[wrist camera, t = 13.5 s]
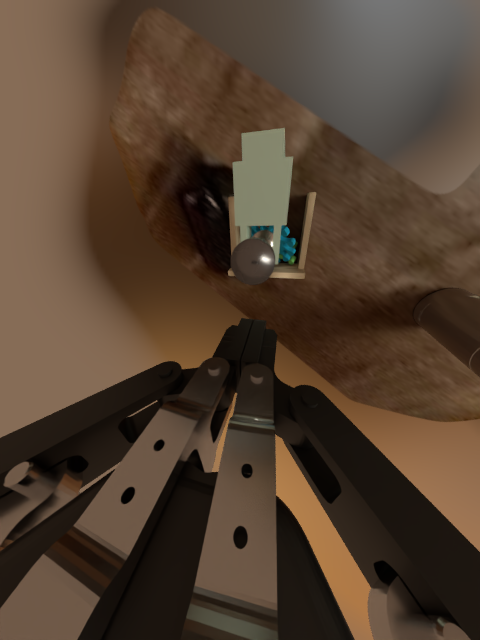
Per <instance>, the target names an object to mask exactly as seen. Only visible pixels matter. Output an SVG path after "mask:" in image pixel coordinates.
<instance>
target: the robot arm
mask: <svg viewBox="0 0 480 640" xmlns="http://www.w3.org/2000/svg"><path fill="white" fill-rule="evenodd" d="M413 317H414V320H415V321H416V322H417V323H418V324H419V325H420V326H421V327H422V328H423V329H425V330H426V331H427V332H428V333H429V334H430V335H431V336H432V337H434V338H435V339H436V340H437V341H438V342H439V343H440V344H442V345H443V346H444V347H445V348H446V349H447V350H449V351H450V352H451V353H452V354H453V355H454V356H455V357H457V358H458V359H459V360H460V361H461V362H462V363H464V364H465V365H466V366H467V367H468V368H469V369H471V370H472V371H473V372H474V373H475V374H476V375H478V376H479V377H480V297H479V296H477V295H475V294H472V293H470V292H468V291H466V290H463V289H459V288H449V289H443V290H439V291H437V292H434V293H432V294H430V295H428V296H426V297H425V298H424V299H422V300H421V301H420V302H419V303H418V305H417V306H416V307H415V310H414V313H413ZM276 342H277V335H276V333H275V331H274V330H270V329H266V321H264V320H255V319H254V320H253V319H244V318H242V319H241V321H240V323H239V325H238V326H235V325H232V326H231V327H229V328H228V329H227V330H226V332H225V334H224V336H223V338H222V340H221V341H220V343H219V345H218V347H217V349H216V351H215V353H214V355H213V357H212V358H209V359H207V360H205V361H204V362H203V363H202V364H201V365H200V367H198V368H192V369H181V366H180V364H178V363H177V362H173V361H168V362H163V363H161V364H159V365H156V366H154V367H152V368H150V369H148V370H146V371H144V372H141V373H139V374H137V375H135V376H133V377H131V378H128V379H126V380H124V381H122V382H120V383H118V384H115V385H113V386H111V387H109V388H107V389H105V390H103V391H100V392H98V393H96V394H94V395H92V396H90V397H87V398H85V399H83V400H81V401H79V402H77V403H75V404H73V405H70V406H68V407H66V408H64V409H62V410H59V411H57V412H55V413H53V414H51V415H49V416H47V417H44V418H43V419H40V420H38V421H36V422H34V423H31V424H30V425H27V426H25V427H23V428H21V429H19V430H17V431H14V432H12V433H10V434H8V435H6V436H3V437H1V438H0V640H354V637H353V635H352V633H351V631H350V629H349V627H348V625H347V622H346V620H345V618H344V616H343V614H342V612H341V610H340V607H339V606H338V603H337V601H336V599H335V597H334V595H333V593H332V591H331V588H330V586H329V584H328V582H327V580H326V578H325V576H324V573H323V571H322V569H321V567H320V565H319V563H318V560H317V558H316V556H315V554H314V552H313V550H312V548H311V545H310V544H309V541H308V539H307V537H306V535H305V533H304V531H303V530H302V527H301V526H300V524H299V522H298V521H297V519H296V518H295V516H294V515H293V513H292V512H291V511H290V509H289V508H288V507H287V506H286V505H285V503H284V502H283V501H282V500H281V499H279V497H277V496H276V465H275V464H276V458H275V457H276V456H275V434H276V435H277V436H279V437H281V438H282V439H283V441H284V443H285V445H286V447H287V449H288V450H289V452H290V454H291V455H292V457H293V459H294V460H295V462H296V464H297V465H298V467H299V468H300V470H301V472H302V474H303V475H304V477H305V478H306V480H307V482H308V484H309V485H310V487H311V488H312V490H313V492H314V493H315V495H316V496H317V498H318V500H319V502H320V503H321V505H322V507H323V508H324V510H325V512H326V513H327V515H328V517H329V518H330V520H331V522H332V523H333V525H334V527H335V528H336V530H337V532H338V533H339V535H340V537H341V538H342V540H343V542H344V543H345V545H346V547H347V548H348V550H349V552H350V553H351V555H352V556H353V558H354V560H355V562H356V563H357V565H358V567H359V568H360V570H361V571H362V573H363V575H364V576H365V578H366V580H367V582H368V583H369V585H370V587H371V590H370V593H369V597H368V616H369V622H370V627H371V631H372V634H373V638H374V640H480V552H479V551H478V550H477V549H476V548H475V547H474V546H473V545H472V544H471V543H470V542H469V541H468V540H467V539H466V538H465V537H464V536H463V535H462V534H461V533H460V532H459V531H458V530H457V528H455V526H453V524H451V522H449V521H448V519H447V518H446V517H445V516H444V515H443V514H442V513H441V512H440V511H439V510H438V509H437V508H436V507H435V506H434V505H433V504H432V503H431V502H430V501H429V500H428V499H427V498H426V497H425V496H424V495H423V494H422V493H421V492H420V491H419V490H418V489H417V488H416V487H415V486H414V485H413V484H412V483H411V482H410V481H409V480H408V479H407V478H406V477H405V476H404V475H403V474H402V473H401V472H400V471H399V470H398V469H397V468H396V467H395V466H394V465H393V464H392V463H391V462H390V461H389V460H388V459H387V458H386V457H385V455H383V453H382V452H381V451H379V449H378V448H377V447H376V446H375V445H374V444H373V443H372V442H371V441H370V440H369V439H368V438H367V437H366V436H365V435H363V433H362V432H361V431H360V430H359V429H358V428H357V427H356V426H355V425H354V424H353V423H352V422H351V421H350V420H349V419H348V418H347V417H346V416H345V415H344V414H343V413H342V412H341V411H340V410H339V409H338V408H337V407H336V406H335V405H334V404H333V403H332V402H331V401H330V400H329V399H328V398H327V397H326V396H325V395H324V394H323V393H322V392H321V391H320V390H318V389H317V388H315V387H312V386H308V385H299V386H297V387H295V388H293V387H290V386H288V385H286V384H285V383H283V382H281V381H280V380H279V379H278V378H277V376H276V375H275V372H274V363H275V353H276ZM235 393H237V397H236V402H235V407H234V413H233V416H232V417H231V418H230V420H229V424H228V428H227V433H226V438H225V442H224V447H223V452H222V457H221V462H220V466H219V471H218V472H211V471H212V468H213V464H214V461H215V456H216V450H217V446H218V443H219V440H220V437H221V435H222V432H223V429H224V427H225V424H226V421H227V419H228V416H229V413H230V411H231V408H232V401H233V397H234V394H235ZM156 400H157V401H158V402H156V403H154V404H152V405H151V406H149V407H147V408H145V409H144V410H142V411H140V412H139V413H137V414H135V415H133V416H131V417H128V416H130V415H131V414H133V413H135V412H137V411H138V410H140V409H142V408H144V407H145V406H147V405H149V404H151V403H152V402H154V401H156ZM119 462H120V464H119V465H118V466H117V468H116V469H114V470H113V471H111V472H110V473H109V474H107V475H106V476H104V477H103V478H102V479H101V480H99V481H97V482H96V483H95V484H93V485H92V486H91V487H89V488H88V489H86V490H85V491H84V492H82V493H81V494H80V492H79V490H80V489H81V488H82V487H83V486H85V485H86V484H88V483H89V482H91V481H92V480H94V479H95V478H97V477H98V476H100V475H101V474H103V473H104V472H106V471H107V470H109V469H110V468H112V467H113V466H115V465H116V464H118V463H119Z"/></svg>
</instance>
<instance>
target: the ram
mask: <svg viewBox="0 0 480 640" xmlns="http://www.w3.org/2000/svg"><path fill="white" fill-rule="evenodd" d="M274 266H275V253H274V250H273V233H272V232H271V231H269V230H261V231H258V232H257V233H256V234H254V236H253V237H252V238H248V239H245V240H243V241H242V242H241V243H239V244H238V245H237V246H236V247H235V249H234V250H233V252H232V255H231V268H232V271H233V273H234V275H235V276H236V277H237V278H238V279H239V280H240V281H241V282H243V283H246V284H249V285H257V284H260V283H263V282H264V281H266V280H267V279H268V278H269V277H270V276H271V274H272V272H273V270H274Z"/></svg>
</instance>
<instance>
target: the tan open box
mask: <svg viewBox="0 0 480 640" xmlns="http://www.w3.org/2000/svg"><path fill="white" fill-rule="evenodd" d="M315 197H316V192H314V193H308V194H307V198H306V205H305V213H304V220H303V227H302V234H301V241H300V248H299V255H298V262H297V263H293V264H292V265H291V264H289V263H278V264H275V266H274V270H273V272H272V274H271V276H270V277H272V278H297V279H304V278H305V271H304V264H305V258H306V252H307V246H308V240H309V234H310V228H311V222H312V215H313V209H314V203H315ZM228 199H229V218H230V237H231V255H232V252H233V250H234V249H235V247H236V246H237V245H238V244H239V243H240V226H235V208H234V197H228ZM228 275H229V276H235V275H234V273H233V271H232V268H230V269H229V270H228Z"/></svg>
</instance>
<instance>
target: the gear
mask: <svg viewBox="0 0 480 640" xmlns="http://www.w3.org/2000/svg"><path fill="white" fill-rule="evenodd" d="M261 230H269V231H271V232H272V233H274V225H270V227H269V228H267V227H265V226H260V229H259V228H258V226H251V237H253V236H254V234H256V233H257V232H258V231H261ZM255 232H256V233H255ZM289 233H290V231H289V229H288V227H285V225H282V226H281V237H280V249H279V260H278V263H280V261H281V260H282V259H283V261H289V264H291V265H292V264H293V263H294V262H295V260H296V257H295V256H293V255H294V253H295V252H296V250H295V248H296V246H297V245H298V242H297V241H295V239H294V238H286V237H287V236H288V234H289ZM283 236H284V237H283Z"/></svg>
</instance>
